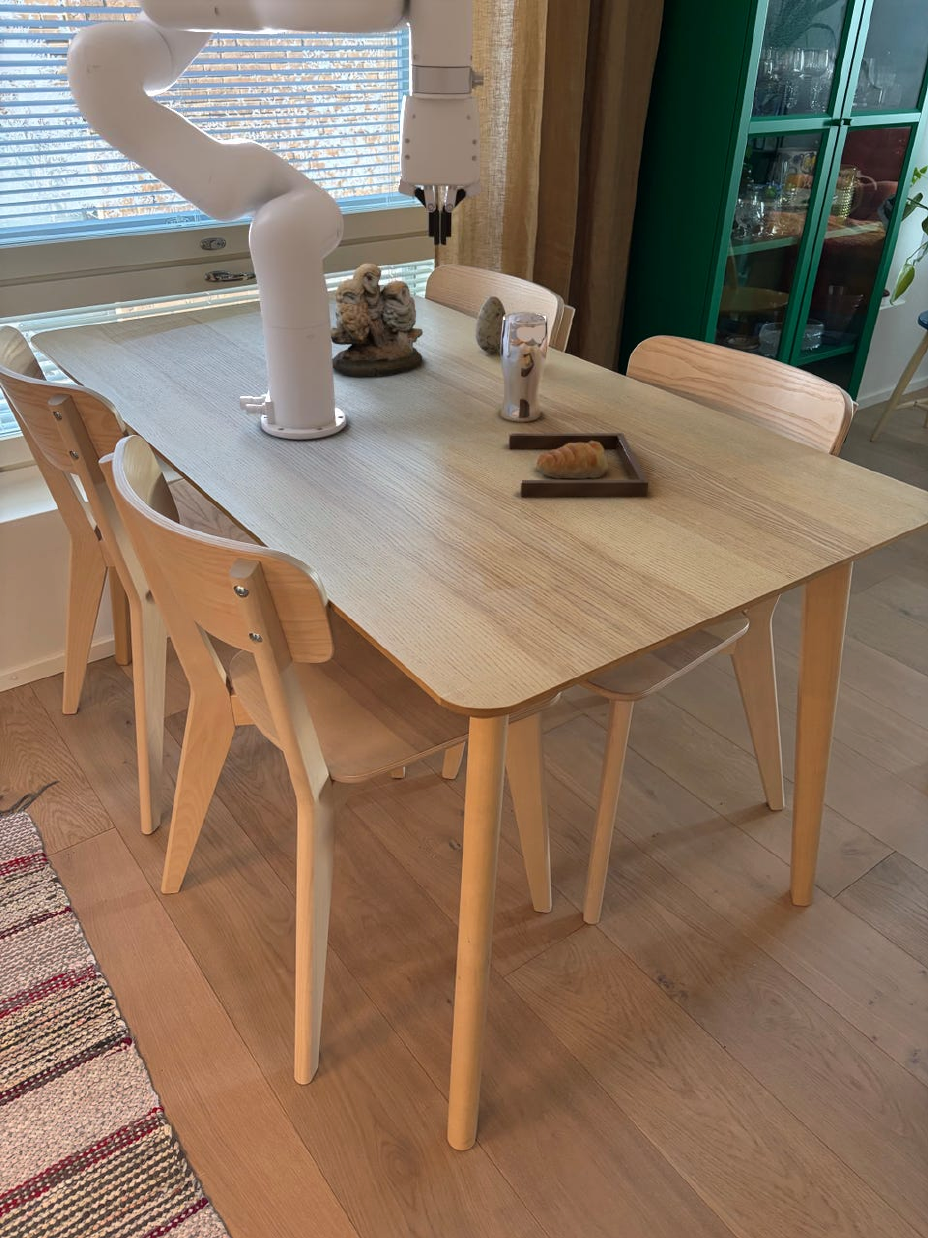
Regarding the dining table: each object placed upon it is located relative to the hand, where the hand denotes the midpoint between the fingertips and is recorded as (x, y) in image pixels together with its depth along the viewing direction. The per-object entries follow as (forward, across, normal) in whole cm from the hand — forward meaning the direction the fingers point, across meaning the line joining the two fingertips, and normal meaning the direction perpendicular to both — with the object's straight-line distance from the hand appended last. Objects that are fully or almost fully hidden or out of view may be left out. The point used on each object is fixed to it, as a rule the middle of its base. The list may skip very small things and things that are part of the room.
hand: (439, 242), depth 126 cm
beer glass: (+27, -13, -9) cm, 32 cm away
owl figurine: (+27, +10, -33) cm, 44 cm away
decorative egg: (+27, -11, -41) cm, 50 cm away
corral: (+27, -18, +12) cm, 35 cm away
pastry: (+27, -18, +12) cm, 35 cm away
